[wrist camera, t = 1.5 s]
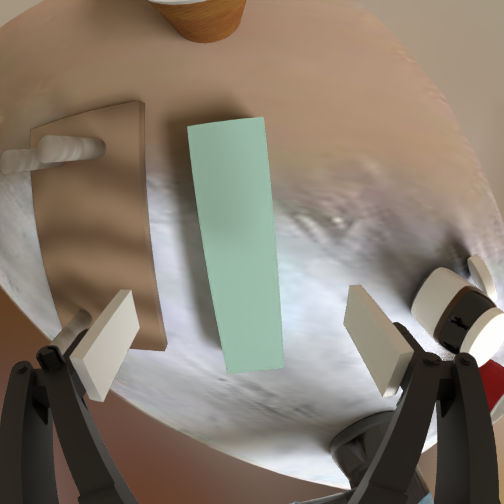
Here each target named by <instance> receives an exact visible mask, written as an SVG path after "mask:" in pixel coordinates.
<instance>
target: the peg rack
mask: <svg viewBox="0 0 504 504" xmlns="http://www.w3.org/2000/svg"><path fill="white" fill-rule="evenodd" d="M0 170H1V172H2V173H3V174H4V175H6V174H12V173H18V172H24V171H31V181H32V193H33V203H34V211H35V219H36V225H37V232H38V237H39V243H40V248H41V253H42V258H43V262H44V266H45V271H46V275H47V279H48V282H49V286H50V290H51V293H52V297H53V300H54V303H55V307H56V310H57V313H58V316H59V319H60V322H61V325H62V327H63V329H62V330H61V332H60V333H59V334H58V335H57V336H56V337H55V338H54V340H53V341H52V342H51V343H50V345H55V346H57V347H58V348H59V349H60V351H61V354H62V355H63V354H64V353H65V351H66V350H67V349H68V347H69V346H70V345H71V343H72V342H73V341H74V340H75V338H76V337H77V335H78V334H79V333H80V332H82V331H83V330H85V329H90V328H91V326H92V325H93V324H94V322H95V321H96V320H97V319H98V317H99V316H100V315H101V313H102V312H103V311H104V309H105V308H106V307H107V306H108V304H109V303H110V302H111V301H112V299H113V298H114V297H115V296H116V294H117V293H118V292H119V291H120V290H131V291H132V296H133V300H134V305H135V310H136V314H137V318H138V322H139V326H140V328H139V330H138V332H137V334H136V336H135V338H134V340H133V342H132V344H131V346H130V348H129V349H141V350H154V351H165V349H166V347H167V344H168V343H167V338H166V333H165V328H164V323H163V318H162V312H161V307H160V301H159V295H158V289H157V282H156V275H155V268H154V261H153V253H152V245H151V236H150V226H149V216H148V203H147V189H146V170H145V103H143V102H141V101H134V102H128V103H123V104H118V105H113V106H109V107H104V108H100V109H96V110H92V111H88V112H84V113H81V114H77V115H74V116H70V117H67V118H64V119H60V120H57V121H54V122H51V123H48V124H45V125H42V126H40V127H37V128H34V129H31V130H30V148H29V149H12V150H5V151H4V152H3V153H2V155H1V157H0Z"/></svg>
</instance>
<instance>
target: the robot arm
mask: <svg viewBox="0 0 504 504" xmlns="http://www.w3.org/2000/svg"><path fill="white" fill-rule="evenodd" d="M343 324H344V326H345V327H346V329H347V331H348V333H349V335H350V336H351V338H352V340H353V342H354V344H355V346H356V347H357V349H358V351H359V353H360V355H361V357H362V359H363V360H364V362H365V364H366V366H367V368H368V370H369V372H370V374H371V376H372V378H373V380H374V381H375V383H376V385H377V387H378V389H379V391H380V393H381V395H382V397H386V396H391V395H395V394H396V393H397V391H398V389H399V387H400V386H401V388H402V390H403V393H402V395H401V397H400V399H399V401H398V403H397V405H396V406H397V408H396V410H395V411H391V412H384V413H379V414H376V415H373V416H370V417H368V418H365V419H363V420H361V421H359V422H357V423H355V424H353V425H351V426H350V427H348V428H346V429H345V430H344V431H342V432H341V433H340V434H339V435H338V436H336V438H335V439H334V440H333V441H332V443H331V445H330V452H331V455H332V459H333V460H334V462H335V463H336V464H337V466H338V467H339V468H340V469H341V471H342V472H343V473H344V474H345V476H346V477H347V478H348V480H349V483H350V486H351V490H349V491H345V492H342V493H338V494H334V495H331V496H327V497H323V498H319V499H314V500H309V501H304V502H293V503H292V504H501V503H500V500H499V480H498V464H497V454H496V445H495V438H494V432H493V426H492V420H491V415H490V410H489V406H488V401H487V397H486V393H485V389H484V385H483V381H482V378H481V374H480V371H479V368H478V364H477V361H476V359H475V358H474V357H473V356H472V355H471V354H469V353H465V352H460V353H458V354H456V356H455V358H454V360H453V361H442V360H441V358H440V357H439V356H438V355H436V354H434V353H431V352H425V351H424V350H423V348H422V347H421V346H420V345H419V343H418V342H417V341H416V340H415V338H413V336H412V335H411V333H409V331H408V330H407V329H406V327H405V326H403V325H401V324H400V323H398V322H394V323H392V322H391V321H390V319H389V318H388V317H387V316H386V314H385V313H384V312H383V311H382V309H381V308H380V307H379V306H378V305H377V303H376V302H375V301H374V300H373V299H372V297H371V296H370V295H369V294H368V293H367V291H366V290H365V289H364V288H363V287H362V285H350V286H349V293H348V300H347V306H346V312H345V317H344V323H343ZM139 328H140V326H139V322H138V318H137V314H136V310H135V305H134V300H133V296H132V291H131V290H120V291H119V292H118V293H117V294H116V296H115V297H114V298H113V299H112V301H111V302H110V303H109V304H108V306H107V307H106V308H105V309H104V311H103V312H102V313H101V315H100V316H99V317H98V319H97V320H96V321H95V322H94V324H93V325H92V326H91V328H90V329H85V330H83V331H82V332H80V333H79V334H78V335H77V337H76V338H75V340H74V341H73V342H72V343H71V345H70V346H69V347H68V349H67V350H66V351H65V353H64V354H63V355H62V354H61V351H60V349H59V348H58V347H57V346H55V345H48V346H45V347H43V348H41V349H40V350H39V351H38V353H37V355H36V358H37V360H38V362H39V364H40V366H41V368H42V369H33V367H32V365H31V363H30V362H28V361H21V362H18V363H17V364H15V365H14V367H13V368H12V370H11V374H10V378H9V382H8V386H7V390H6V395H5V399H4V404H3V410H2V415H1V422H0V504H59V502H58V495H57V488H56V480H55V470H54V456H53V420H54V424H55V427H56V431H57V434H58V437H59V441H60V444H61V447H62V450H63V453H64V456H65V458H66V461H67V464H68V466H69V469H70V471H71V474H72V477H73V479H74V481H75V484H76V486H77V488H78V490H79V493H80V496H79V497H78V502H79V504H139V502H138V501H137V499H136V498H135V496H134V495H133V493H132V492H131V490H130V489H129V488H128V486H127V484H126V482H125V481H124V479H123V477H122V476H121V474H120V472H119V470H118V469H117V467H116V465H115V463H114V462H113V460H112V458H111V456H110V454H109V452H108V450H107V448H106V446H105V445H104V442H103V440H102V438H101V436H100V434H99V432H98V430H97V428H96V425H95V423H94V421H93V418H92V416H91V414H90V411H89V409H88V406H87V404H86V401H85V400H84V398H83V396H84V394H85V392H87V394H88V396H89V398H90V399H91V400H95V401H100V402H103V401H104V399H105V397H106V395H107V393H108V391H109V388H110V386H111V384H112V382H113V380H114V378H115V376H116V374H117V372H118V370H119V368H120V366H121V364H122V361H123V359H124V357H125V355H126V353H127V351H128V350H129V348H130V346H131V344H132V342H133V340H134V338H135V336H136V334H137V332H138V330H139ZM435 402H436V412H437V474H436V486H435V496H434V503H433V500H432V497H431V494H432V493H431V492H430V491H429V489H428V487H427V484H426V482H425V480H424V478H423V475H422V473H421V471H420V469H419V467H418V465H417V463H418V461H419V458H420V455H421V452H422V449H423V446H424V443H425V440H426V436H427V433H428V429H429V426H430V422H431V418H432V414H433V410H434V406H435Z"/></svg>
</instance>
